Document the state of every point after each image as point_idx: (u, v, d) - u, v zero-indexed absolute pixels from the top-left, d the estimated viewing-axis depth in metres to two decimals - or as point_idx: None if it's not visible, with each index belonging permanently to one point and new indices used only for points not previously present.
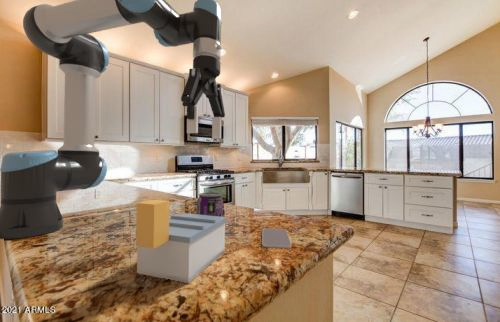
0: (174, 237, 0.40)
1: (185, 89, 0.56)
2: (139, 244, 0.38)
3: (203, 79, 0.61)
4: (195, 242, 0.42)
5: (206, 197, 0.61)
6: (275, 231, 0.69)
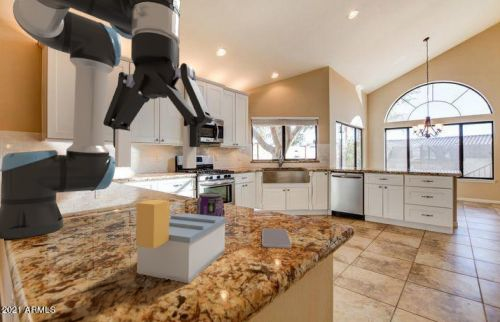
0: (174, 237, 0.40)
1: None
2: (139, 244, 0.38)
3: (135, 81, 0.39)
4: (195, 242, 0.42)
5: (206, 197, 0.61)
6: (275, 231, 0.69)
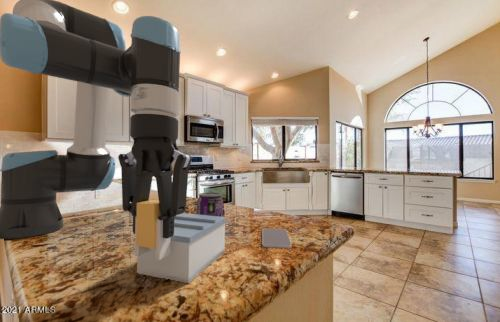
0: (174, 237, 0.40)
1: None
2: (139, 244, 0.38)
3: None
4: (195, 242, 0.42)
5: (206, 197, 0.61)
6: (275, 231, 0.69)
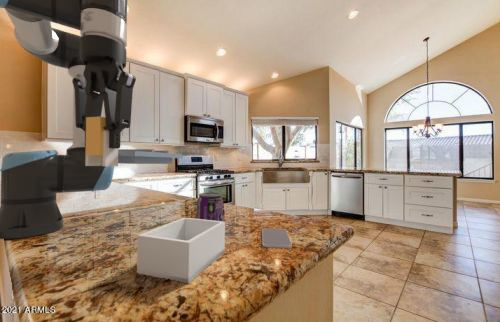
0: (122, 152, 0.45)
1: None
2: (88, 153, 0.43)
3: None
4: (195, 242, 0.42)
5: (206, 197, 0.61)
6: (275, 231, 0.69)
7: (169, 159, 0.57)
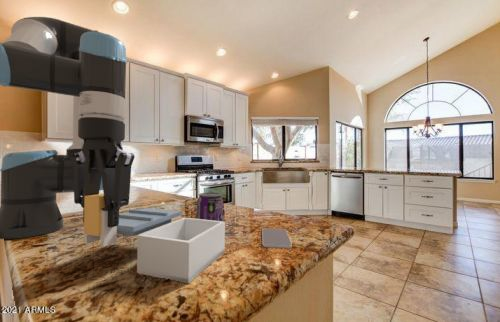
0: (121, 227, 0.45)
1: None
2: (86, 232, 0.42)
3: None
4: (195, 242, 0.42)
5: (206, 197, 0.61)
6: (275, 231, 0.69)
7: (168, 218, 0.57)
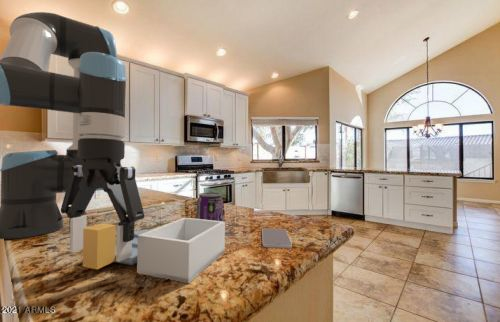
0: None
1: None
2: (85, 265, 0.42)
3: None
4: (195, 242, 0.42)
5: (206, 197, 0.61)
6: (275, 231, 0.69)
7: None
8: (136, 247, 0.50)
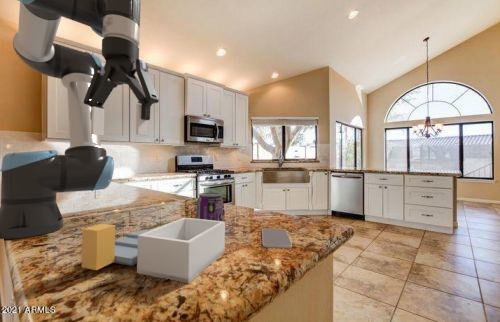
0: (119, 258, 0.45)
1: None
2: (84, 266, 0.42)
3: (105, 71, 0.54)
4: (195, 242, 0.42)
5: (206, 197, 0.61)
6: (275, 231, 0.69)
7: None
8: (135, 247, 0.49)
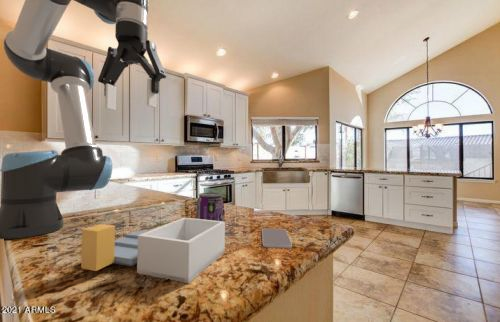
0: (119, 258, 0.45)
1: None
2: (84, 266, 0.42)
3: (118, 52, 0.61)
4: (195, 242, 0.42)
5: (206, 197, 0.61)
6: (275, 231, 0.69)
7: None
8: (135, 248, 0.49)
